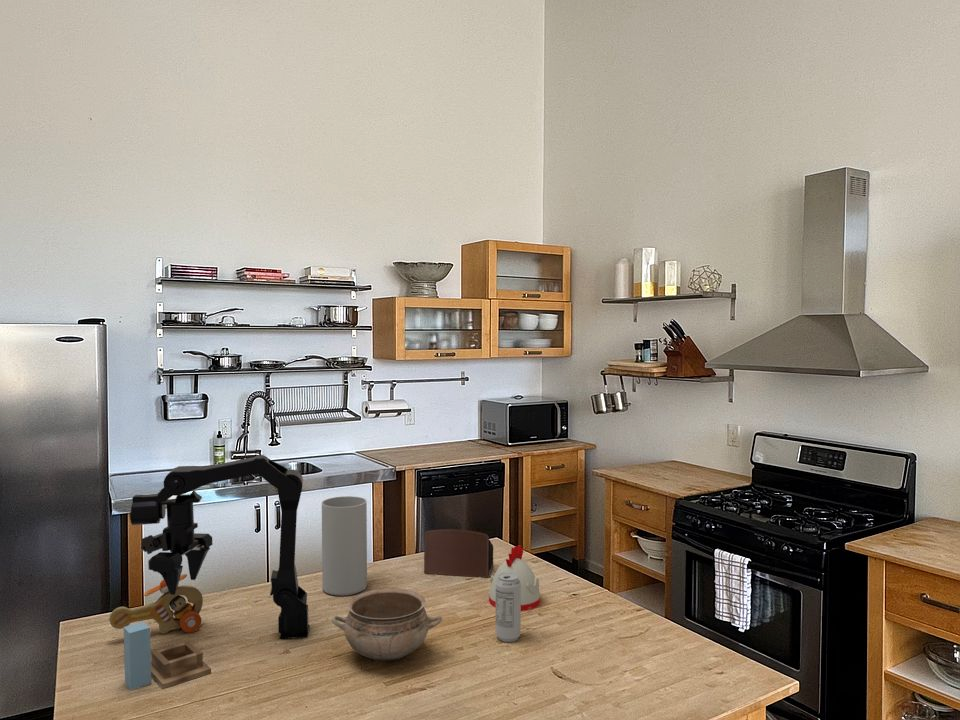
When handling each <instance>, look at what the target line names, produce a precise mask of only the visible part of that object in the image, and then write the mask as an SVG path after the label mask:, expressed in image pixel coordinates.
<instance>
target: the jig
mask: <svg viewBox="0 0 960 720" xmlns="http://www.w3.org/2000/svg"><path fill="white" fill-rule="evenodd" d="M203 655H204V654H203V652H202V651H201V650H200V649H198V647H196V646H195V645H194V644H193V643H192V642H191V641H189V640H187V641H183V642H181V643H178V644H174V645H171V646H167V647H163V648H161V649H157V650H154V651H153V650H152V651H151V678H153V680H154V681H155V682H156V683H157V684H158V685H159V686H160V687H161V688H162V690H164V689H167V688H170V687H173V686H177V685H179V684H182V683H185V682H188V681H191V680H193V679H197V678H200V677H203V676H206V675H209V674H212V668H211V667H210V666H209V665H208V664H207V663H206V662H205V661H203V658H204V657H203Z"/></svg>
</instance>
